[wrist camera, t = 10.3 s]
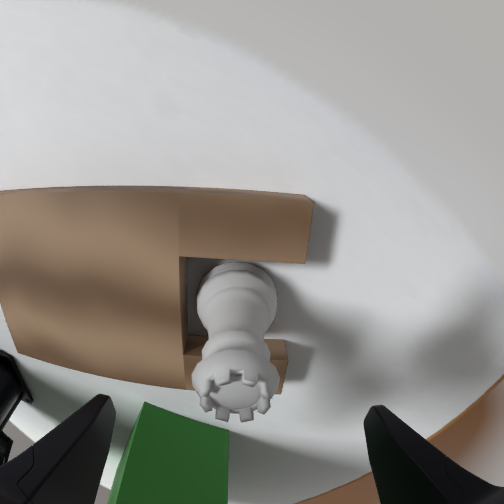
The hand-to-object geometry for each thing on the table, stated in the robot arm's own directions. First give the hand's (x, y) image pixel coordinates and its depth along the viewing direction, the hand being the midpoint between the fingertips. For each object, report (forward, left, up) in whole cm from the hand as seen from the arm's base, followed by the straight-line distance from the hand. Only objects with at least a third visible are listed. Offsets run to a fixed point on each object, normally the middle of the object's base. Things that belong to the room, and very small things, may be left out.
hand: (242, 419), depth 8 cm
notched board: (0, +7, -9) cm, 11 cm away
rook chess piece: (0, 0, -9) cm, 9 cm away
